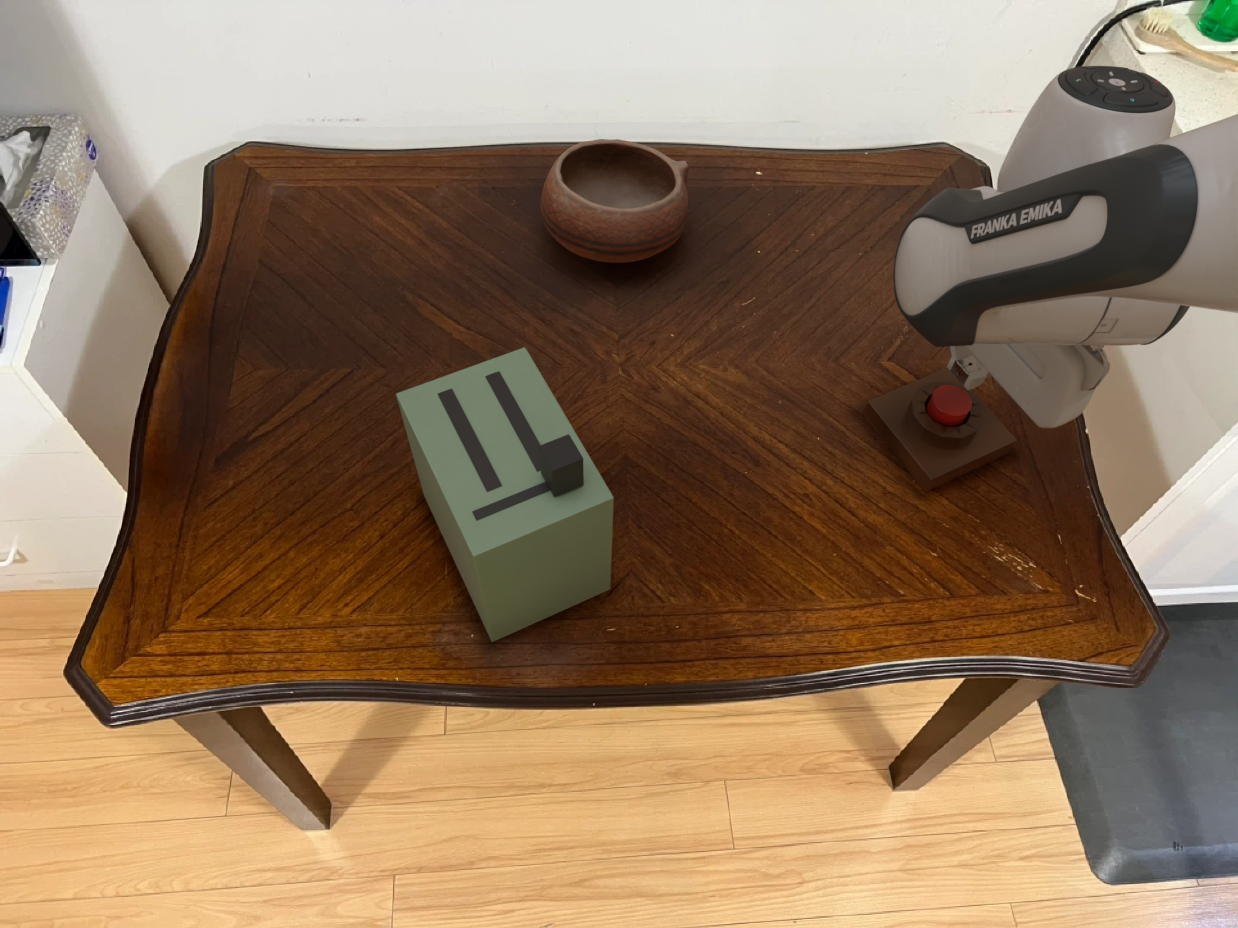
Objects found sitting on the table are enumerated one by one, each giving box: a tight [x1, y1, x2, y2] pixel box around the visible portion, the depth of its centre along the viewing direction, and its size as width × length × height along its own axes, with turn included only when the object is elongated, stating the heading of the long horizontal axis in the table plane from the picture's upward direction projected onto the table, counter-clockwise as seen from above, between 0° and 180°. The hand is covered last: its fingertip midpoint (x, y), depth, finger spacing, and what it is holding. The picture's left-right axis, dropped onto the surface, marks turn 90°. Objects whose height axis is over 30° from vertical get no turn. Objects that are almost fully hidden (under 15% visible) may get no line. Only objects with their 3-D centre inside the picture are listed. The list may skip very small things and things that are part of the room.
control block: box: [862, 367, 1018, 493], centre depth 90 cm, size 10×10×4 cm
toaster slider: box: [539, 434, 584, 497], centre depth 68 cm, size 2×2×4 cm
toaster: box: [395, 346, 615, 643], centre depth 78 cm, size 16×11×15 cm
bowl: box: [540, 138, 690, 264], centre depth 101 cm, size 16×16×10 cm
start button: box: [927, 385, 972, 427], centre depth 88 cm, size 4×4×2 cm
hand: (963, 376), depth 85 cm, fingers closed
